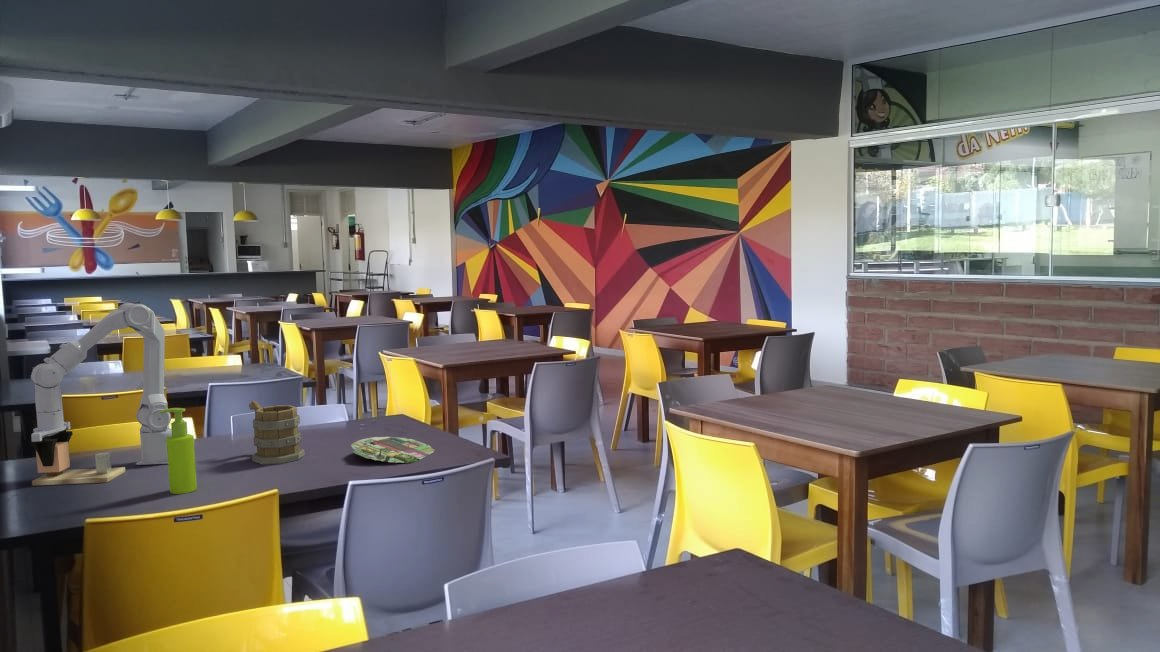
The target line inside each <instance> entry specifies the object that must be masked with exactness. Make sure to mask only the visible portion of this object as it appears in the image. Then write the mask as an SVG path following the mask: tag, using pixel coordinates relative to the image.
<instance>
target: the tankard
mask: <svg viewBox="0 0 1160 652" xmlns="http://www.w3.org/2000/svg"><path fill="white" fill-rule="evenodd" d="M248 407H249V409H250V410H251V411H252V410H253V411H254V419H252V428H253V433H254V434H253V435H254V437H253V446H254V447H256V452H255V453H254V454H252V455H251V461H252V462H254V463H257V464H259V465H281V464H286V463H291V462H296V461H299V460H300V459H301V458H302V457H304V456H305V454H306V453H305V449H303V448H300V444H299V443H300V442H301V441H302V435H301V434H302V432H300V431H299V426H298V425H300V423H301V416H300V415H299V414H298V409H297V408H298V407H297V406H294V405H288V404H284V405H282V404H281V405H280V404H279V405H275V406H274V405H269V406H264V407H263V406H261V405H260V404H259V403H258V402H257V400H252V401H251V402H250V403H249V404H248Z"/></svg>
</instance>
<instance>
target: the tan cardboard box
mask: <svg viewBox="0 0 1160 652" xmlns="http://www.w3.org/2000/svg"><path fill="white" fill-rule="evenodd" d="M69 449H70V448H69V443H68V442H56V445H55V449H54V462H53V466H45V467H43V465H42V462H41V460H40V457H39V455H38V453H37V451H36V450H35V454H36V455H35V456H36V467H37V474H42V473H45V474H47V473H48V472H60V471H62V470H67V469H69V468H70V467H71V461H70V450H69Z"/></svg>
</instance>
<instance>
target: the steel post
mask: <svg viewBox="0 0 1160 652" xmlns="http://www.w3.org/2000/svg"><path fill="white" fill-rule="evenodd" d="M111 455H112V453H111V452H110V451H108V452H98V453H97V454H94V459H95V469H96V474H108V473H110V472H111V471H112V468H113V467H112V457H111Z"/></svg>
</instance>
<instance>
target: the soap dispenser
mask: <svg viewBox="0 0 1160 652" xmlns="http://www.w3.org/2000/svg"><path fill="white" fill-rule="evenodd" d="M166 412H169V413H174V421H173V422H170V427H171V428H170V429H172V436H170V437H168V438H166V442H167V456H168V464H167V467H168V469H167V470H168V481H169V482H168V483H169V493H170V494H174V495H179V494H188V493H192V492H195V491H197V489H198V483H197V482H198V481H197V470H196V468H197V467H196V455H195V442H194V441H195V440H194V435H193V434H190V433H188V423H187V421H185V420H183V419H184V418H183V412H186V408H184V407H183V408H182V407H171V408H168V409H165V410H163V411H160V413H166Z"/></svg>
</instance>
